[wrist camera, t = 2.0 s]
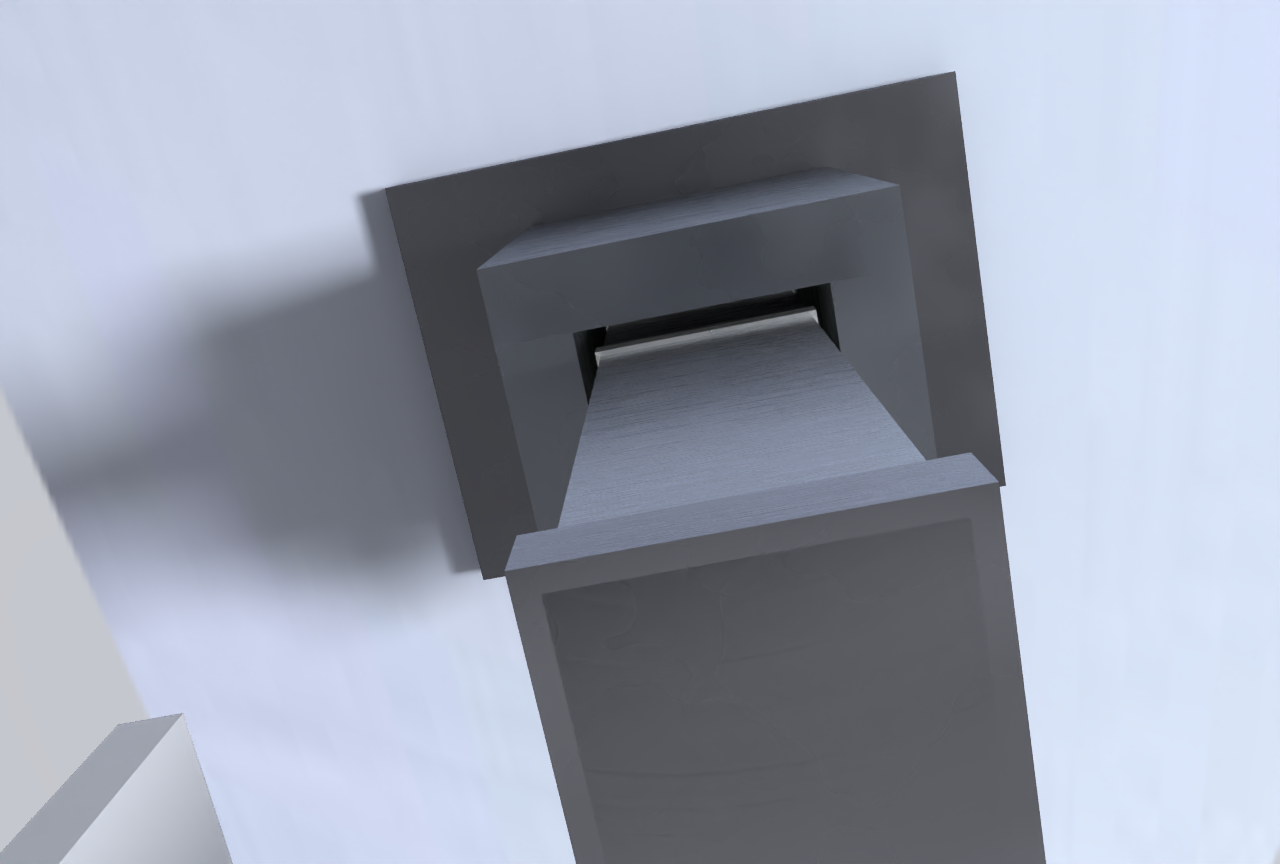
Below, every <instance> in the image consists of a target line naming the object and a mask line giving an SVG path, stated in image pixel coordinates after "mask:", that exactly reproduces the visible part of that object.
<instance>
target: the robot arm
mask: <svg viewBox="0 0 1280 864" xmlns="http://www.w3.org/2000/svg"><path fill="white" fill-rule="evenodd" d="M0 864H233V863H232V860H231V857H230V854H229V851H228V848H227V845H226V842H225V839H224V835H223V832H222V829H221V826H220V823H219V820H218V817H217V814H216V811H215V808H214V805H213V802H212V799H211V796H210V793H209V790H208V787H207V784H206V781H205V778H204V775H203V772H202V769H201V766H200V763H199V760H198V757H197V754H196V751H195V748H194V744H193V741H192V738H191V735H190V732H189V729H188V726H187V723H186V720H185V717H184V714H183V713H181V714H175V715H169V716H164V717H158V718H152V719H147V720H141V721H135V722H130V723H124V724H119V725H117V727H116V728H115V729H114V730H113V731H112V732H111V733H110V734H109V735H108V736H107V737H106V738H105V739H104V741H103V742H102V743H101V744H100V745H99V746H98V747H97V748H96V749H95V750H94V752H93V753H92V754H91V755H90V756H89V757H88V758H87V759H86V760H85V761H84V762H83V764H82V765H81V766H80V767H79V768H78V769H77V770H76V771H75V772H74V773H73V774H72V775H71V777H70V778H69V779H68V780H67V781H66V782H65V783H64V784H63V785H62V787H60V789H59V790H58V791H57V792H56V793H55V794H54V795H53V796H52V797H51V798H50V799H49V800H48V802H47V803H46V804H45V805H44V806H43V807H42V808H41V809H40V810H39V811H38V812H37V814H36V815H35V816H34V817H33V818H32V819H31V820H30V821H29V822H28V823H27V825H26V826H25V827H24V828H23V829H22V830H21V831H20V832H19V833H18V834H17V835H16V837H15V838H14V839H13V840H12V841H11V842H10V843H9V844H8V845H7V846H6V847H5V848H4V850H3V851H2V852H1V853H0Z"/></svg>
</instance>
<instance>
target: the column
mask: <svg viewBox="0 0 1280 864" xmlns="http://www.w3.org/2000/svg"><path fill="white" fill-rule="evenodd" d="M606 329H607V334H606V338H605V342H604V346H603V347H598V348H596V350H595V356H596V360H597V365H598V370H597V374H596V378H595V382H594V386H593V390H592V394H591V398H590V402H589V406H588V410H587V414H586V418H585V422H584V426H583V430H582V434H581V438H580V442H579V446H578V450H577V453H576V457H575V461H574V465H573V469H572V473H571V477H570V481H569V485H568V489H567V493H566V497H565V501H564V505H563V509H562V513H561V517H560V521H559V525H558V528H555V529H550V530H544V531H539V532H533V533H528V534H522V535H517V536H516V539H515V542H514V545H513V548H512V551H511V554H510V557H509V560H508V562H507V565H506V568H505V571H504V572H505V576H506V580H507V584H508V588H509V592H510V596H511V600H512V604H513V608H514V612H515V617H516V621H517V625H518V629H519V633H520V637H521V641H522V645H523V649H524V653H525V657H526V661H527V665H528V669H529V673H530V678H531V682H532V686H533V690H534V694H535V698H536V702H537V706H538V710H539V714H540V718H541V722H542V726H543V730H544V734H545V739H546V743H547V747H548V751H549V755H550V759H551V763H552V767H553V771H554V775H555V779H556V783H557V787H558V791H559V795H560V800H561V804H562V808H563V812H564V816H565V820H566V824H567V828H568V832H569V836H570V840H571V844H572V848H573V852H574V856H575V861H576V864H1046V860H1045V852H1044V844H1043V836H1042V827H1041V819H1040V811H1039V803H1038V795H1037V787H1036V779H1035V771H1034V763H1033V755H1032V746H1031V738H1030V730H1029V722H1028V714H1027V706H1026V698H1025V690H1024V682H1023V674H1022V665H1021V657H1020V649H1019V641H1018V633H1017V625H1016V617H1015V609H1014V601H1013V593H1012V584H1011V576H1010V568H1009V560H1008V552H1007V544H1006V536H1005V528H1004V520H1003V512H1002V503H1001V495H1000V487H999V482H998V480H997V479H996V478H995V477H994V476H993V475H992V474H991V473H990V472H989V471H988V470H987V469H986V468H985V467H984V466H983V465H982V464H981V462H980V461H979V460H978V459H977V458H976V457H975V456H974V455H973V454H972V453H971V452H970V453H965V454H959V455H954V456H948V457H943V458H937V459H932V460H925V458H924V457H923V456H922V455H921V453H920V452H919V451H918V449H917V448H916V447H915V446H914V444H913V443H912V442H911V441H910V439H909V438H908V437H907V436H906V434H905V433H904V432H903V430H902V429H901V428H900V427H899V425H898V424H897V423H896V422H895V420H894V419H893V418H892V417H891V415H890V414H889V413H888V411H887V410H886V409H885V408H884V406H883V405H882V404H881V403H880V401H879V400H878V399H877V398H876V396H875V395H874V394H873V393H872V391H871V390H870V389H869V387H868V386H867V385H866V384H865V382H864V381H863V380H862V379H861V377H860V376H859V375H858V374H857V372H856V371H855V370H854V368H853V367H852V366H851V365H850V363H849V362H848V361H847V360H846V358H845V357H844V356H843V355H842V353H841V352H840V351H839V349H838V348H837V347H836V346H835V344H834V343H833V342H832V341H831V339H830V338H829V337H828V336H827V334H826V333H825V332H824V331H823V329H822V328H821V327H820V325H819V324H818V318H817V312H816V309H815V308H814V307H813V306H810V307H805V306H804V305H803V304H802V303H801V301H800V300H799V299H798V298H797V296H796V295H795V291H794V290H789V291H784V292H779V293H774V294H769V295H764V296H759V297H754V298H748V299H743V300H738V301H733V302H728V303H723V304H718V305H712V306H707V307H702V308H697V309H692V310H687V311H682V312H676V313H671V314H666V315H661V316H656V317H651V318H646V319H640V320H635V321H630V322H625V323H620V324H615V325H610V326H606Z"/></svg>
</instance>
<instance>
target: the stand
mask: <svg viewBox="0 0 1280 864" xmlns="http://www.w3.org/2000/svg"><path fill="white" fill-rule="evenodd" d="M385 190H386V194H387V198H388V202H389V206H390V210H391V214H392V218H393V222H394V226H395V230H396V234H397V238H398V242H399V246H400V250H401V254H402V258H403V262H404V266H405V270H406V274H407V278H408V282H409V286H410V290H411V294H412V298H413V302H414V305H415V309H416V313H417V317H418V321H419V325H420V329H421V333H422V337H423V341H424V345H425V349H426V353H427V357H428V361H429V365H430V369H431V373H432V377H433V381H434V385H435V389H436V393H437V397H438V401H439V405H440V409H441V413H442V417H443V421H444V425H445V429H446V433H447V437H448V441H449V445H450V449H451V453H452V457H453V461H454V465H455V469H456V473H457V476H458V480H459V484H460V488H461V492H462V496H463V500H464V504H465V508H466V512H467V516H468V520H469V524H470V528H471V532H472V536H473V540H474V544H475V548H476V552H477V556H478V560H479V564H480V568H481V572H482V576H483V580H486V579H492V578H497V577H503V576H505V572H504V571H505V568H506V565H507V562H508V560H509V557H510V554H511V551H512V548H513V545H514V542H515V539H516V536H517V535H522V534H528V533H533V532H539V531H544V530H550V529H555V528H558V525H559V521H560V517H561V513H562V509H563V505H564V501H565V497H566V493H567V489H568V485H569V481H570V477H571V473H572V469H573V465H574V461H575V457H576V453H577V450H578V446H579V442H580V438H581V434H582V430H583V426H584V422H585V418H586V414H587V410H588V406H589V402H590V398H591V394H592V390H593V386H594V382H595V378H596V374H597V370H598V365H597V360H596V356H595V350H596V348H598V347H603V346H604V342H605V338H606V334H607V329H606V326H610V325H615V324H620V323H625V322H630V321H635V320H640V319H646V318H651V317H656V316H661V315H666V314H671V313H676V312H682V311H687V310H692V309H697V308H702V307H707V306H712V305H718V304H723V303H728V302H733V301H738V300H743V299H748V298H754V297H759V296H764V295H769V294H774V293H779V292H784V291H789V290H794V291H795V295H796V296H797V298H798V299H799V300H800V301H801V303H802V304H803V305H804V306H805V307H810V306H813V307H814V308H815V309H816V312H817V318H818V324H819V325H820V327H821V328H822V329H823V331H824V332H825V333H826V334H827V336H828V337H829V338H830V339H831V341H832V342H833V343H834V344H835V346H836V347H837V348H838V349H839V351H840V352H841V353H842V355H843V356H844V357H845V358H846V360H847V361H848V362H849V363H850V365H851V366H852V367H853V368H854V370H855V371H856V372H857V374H858V375H859V376H860V377H861V379H862V380H863V381H864V382H865V384H866V385H867V386H868V387H869V389H870V390H871V391H872V393H873V394H874V395H875V396H876V398H877V399H878V400H879V401H880V403H881V404H882V405H883V406H884V408H885V409H886V410H887V411H888V413H889V414H890V415H891V417H892V418H893V419H894V420H895V422H896V423H897V424H898V425H899V427H900V428H901V429H902V430H903V432H904V433H905V434H906V436H907V437H908V438H909V439H910V441H911V442H912V443H913V444H914V446H915V447H916V448H917V449H918V451H919V452H920V453H921V455H922V456H923V457H924V458H925V460H932V459H937V458H943V457H948V456H954V455H959V454H965V453H970V452H971V453H972V454H973V455H974V456H975V457H976V458H977V459H978V460H979V461H980V462H981V464H982V465H983V466H984V467H985V468H986V469H987V470H988V471H989V472H990V473H991V474H992V475H993V476H994V477H995V478H996V479H997V480H998V482H999V487H1001V486H1006V483H1005V475H1004V467H1003V459H1002V451H1001V442H1000V434H999V426H998V418H997V409H996V401H995V393H994V385H993V377H992V368H991V360H990V352H989V344H988V336H987V327H986V319H985V311H984V303H983V295H982V286H981V278H980V270H979V262H978V254H977V245H976V237H975V229H974V221H973V213H972V204H971V196H970V188H969V180H968V172H967V163H966V155H965V147H964V139H963V131H962V122H961V114H960V106H959V98H958V90H957V81H956V73H955V71H954V72H948V73H943V74H938V75H933V76H929V77H924V78H919V79H914V80H909V81H904V82H899V83H894V84H890V85H885V86H880V87H875V88H870V89H865V90H860V91H856V92H851V93H846V94H841V95H836V96H831V97H826V98H821V99H817V100H812V101H807V102H802V103H797V104H792V105H787V106H783V107H778V108H773V109H768V110H763V111H758V112H753V113H749V114H744V115H739V116H734V117H729V118H724V119H719V120H714V121H710V122H705V123H700V124H695V125H690V126H685V127H680V128H676V129H671V130H666V131H661V132H656V133H651V134H646V135H641V136H637V137H632V138H627V139H622V140H617V141H612V142H607V143H603V144H598V145H593V146H588V147H583V148H578V149H573V150H569V151H564V152H559V153H554V154H549V155H544V156H539V157H534V158H530V159H525V160H520V161H515V162H510V163H505V164H500V165H496V166H491V167H486V168H481V169H476V170H471V171H466V172H462V173H457V174H452V175H447V176H442V177H437V178H432V179H427V180H423V181H418V182H413V183H408V184H403V185H398V186H393V187H389V188H385Z"/></svg>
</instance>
